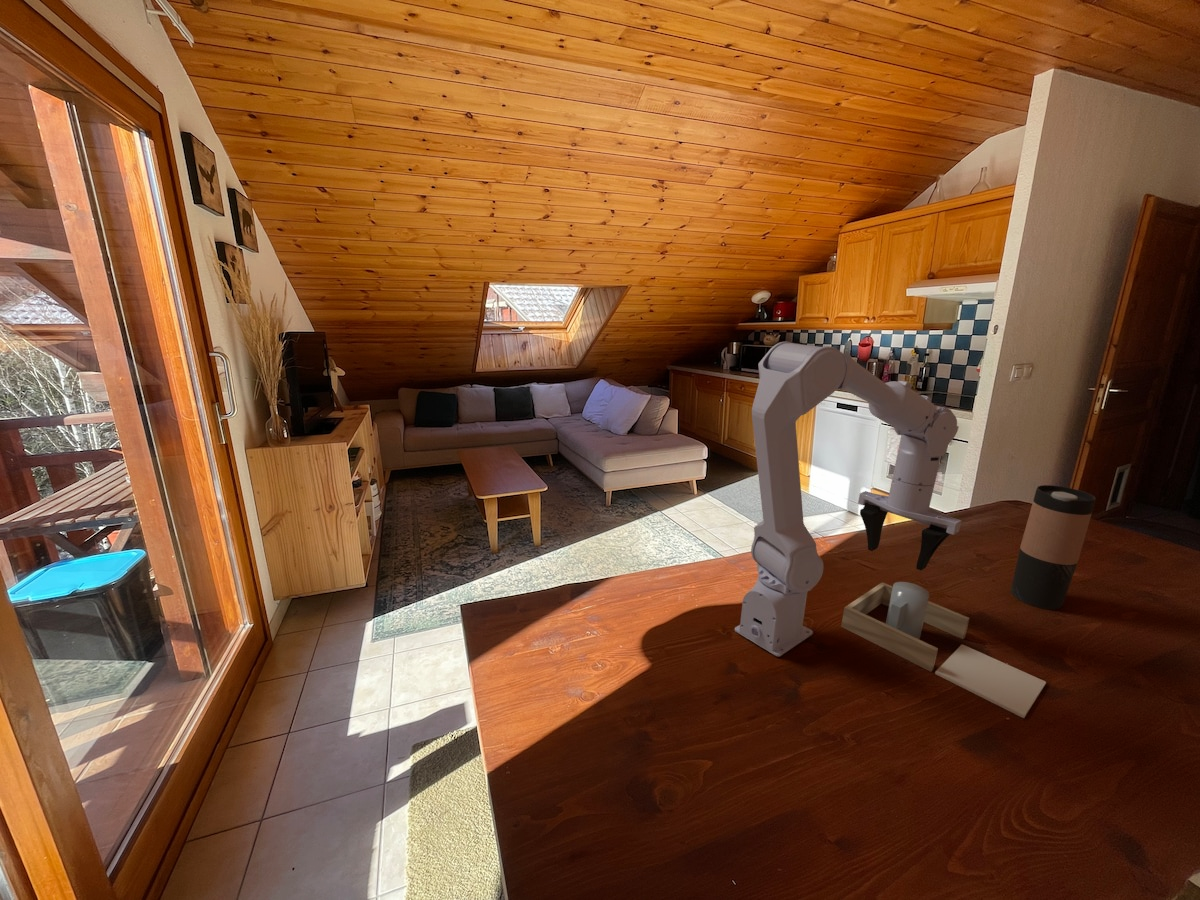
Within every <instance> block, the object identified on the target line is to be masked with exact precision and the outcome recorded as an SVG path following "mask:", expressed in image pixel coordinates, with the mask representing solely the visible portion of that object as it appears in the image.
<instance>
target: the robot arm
mask: <svg viewBox="0 0 1200 900" xmlns="http://www.w3.org/2000/svg"><path fill="white" fill-rule="evenodd" d="M852 358H853V357H852V356H851V355H850V354H848V353H846V352H841V351H840V350H839V349H838V348H836V347H833V346H816V345H808V344H801V343H799V344H798V343H795V342H790V341H780V342H778V343H776V344H774V345H773V346H772V347H771V348H770V349H769V350H768V351H767V352H766V353H765V355H764V356H763V357H762V359H761V360H760V361H759V362H758V375H759V382H758V385H757V389H756V393H755V396H754V399H753V403H752V406H751V407H752V408H751V422H752V427H753V428H752V430H753V438H754V448H755V456H756V457H755V458H756V465H757V475H758V483H759V492H760V501H761V502H760V503H761V510H762V521H761V522H759V523H757V524H756V525H755V526H754V527H753V532H754V537H753V540H752V543H751V548H750V553H751V557H752V559H753V561H754V562H755V563H757V564H756V571H757V572H758V576H757V579H756V583H755V584H754V585H753V587H752V588H751V589H750V590H749V591H748V592H746V593H745V595H744V596H743V598H742V604H741V605H742V606H741V615H740V623H739V625H737V626H735V627H734V632H735V633H737V634H739V635H741V636H742V637H744V638H745V639H747V640H748V641H751V642H753V643H754V644H756V645H757V646H759V647H760V648H762V649H764V650H766V651H767V652H769V653H770V654H772V655H773V656H775V657H778V658H779V657H781V656H783V655H784V654H786V653H787V652H788V651H790V650H792V649H794V647H796V646H797V645H799V644H800V643H802V642H803V641H805V640H806V639H808V638H810V637H811V636H812V635H813V634H814V631H813V630H812V629H810V628H809V627H807V626H805V625H803V623H804V617H805V612H806V611H805V609H806V605H807V604H806V603H807V597H808V591H812V589H813V588H814V587H816V585H817V584H819V581H820V580H821V578H822V576H823V573H824V561H823V559H822V558H821V556H820V555H819V553H818V551H817V550H818V549H817V543H816V541H815V538H813V536H812V535H811V533H810V532H809V530H808V528H807V527H806V525H805V523H804V512H803V510H804V509H803V500H802V487H801V474H800V462H799V461H800V459H799V452H798V451H799V448H798V438H797V437H798V436H797V425H796V423H797V422H798V419H800V417H801V416H804V415H806V414H807V413H809V412H811V410H813V409H814V408H815V407H816V406H818V405H820V403H822V402H823V401H825V400H826V399H827V398H828V397H830V396H831V395H833V394H834V393H835V392H836V391H837V390H844V391H845V392H848V393H850V394H851V395H853V396H856V397H857V398H858V399H861V400H863V401H865V402H867V403H868V409H869V413H870V414H871V415H872V416H874V417H876V418H877V419H879V420H881V421H882V422H884V423H886V424H888V425H889V426H891V427H892V428H894V432H895V433H896V434H897V436H900V440H899V444H898V445H899V446H898V451H897V453H896V454H897V455H896V459H895V464H894V470H893V473H892V474H893V475H892V478H891V483H890V489H889V492H888V495H883V494H880V493H874V492H870V491H867V490H865V491H861V492H860V493H859V494H858V501H857V504H858V505H861V506H863V508H861V509H860V510H859V515H860V517H861V520H862V521H863V524H864V528H865V532H866V538H867V539H866V540H867V550H868V551H870V552H873V551H875V550H877V549H879V545H880V542H881V541H880V540H881V536H882V531H883V530H882V529H883V527H884V524H885V520H886V517H887V515H888V513H890V514H894V515H897V516H899V517H903V518H904V519H908V520H911V521H914V522H917V523H920V524H923V525H927V526H929V527H926V528H924V529H922V530H921V544H920V552H919V555H918V559H917V561H916V567H915V568H916V570H919V571H923V570H924V569H926V568H927V566H928V564H929V562H930V560H931V558H932V556H933V555H934V554H935V552H936V551H937V549H938V548H939V547H940V546H941V544H943V542H944V541H945V540H946V539H948V537H950V535H952V536H954V535H957V534H958V533H959V532H960V528H961V524H962V520H961V519H958V518H954V517H953V516H949V515H947V514H945V513H944V512H940V511H937V510H936V509H933V508H931V507H930V505H931V502H932V498H933V492H934V489H935V485H936V479H937V476H938V471H939V468H940V462H941V459H942V457H944V456H945V454H947V452H948V447H949V445H950V443H951V442H952V441H953V440H954V438H955V437H956V435H957V433H958V431H959V427H960V426H959V425H958V420H957V416H956V415H955V414H954V412H953V411H952V410H951V409H950V408H947V407H943V406H939V405H934V403H933V402H931V401H932V398H931V397H930V396H928V395H924V394H921V395H920V394H919V393H917V391H914V390H913V389H912V387H913V384H912V383H910V382H909V381H905V380H898V381H894V380H893V381H888V382H884V381H882V380H881V379H880V378H879V377H877V376H876V375H875V374H873V373H872V372H870V371H869V370H868V369H866V368H865V367H864V366H863V365H861V364H860V363H858V362H857V361H856V360H854V359H852Z"/></svg>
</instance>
